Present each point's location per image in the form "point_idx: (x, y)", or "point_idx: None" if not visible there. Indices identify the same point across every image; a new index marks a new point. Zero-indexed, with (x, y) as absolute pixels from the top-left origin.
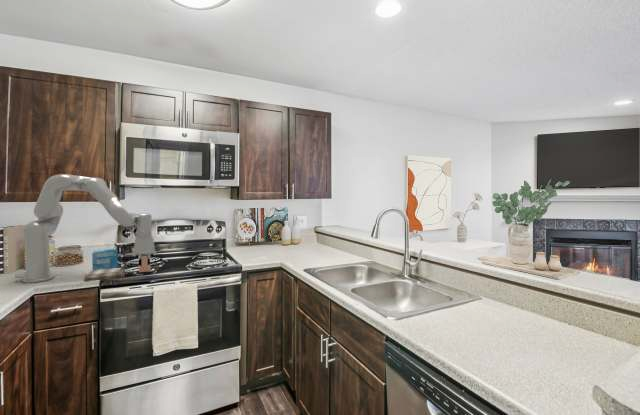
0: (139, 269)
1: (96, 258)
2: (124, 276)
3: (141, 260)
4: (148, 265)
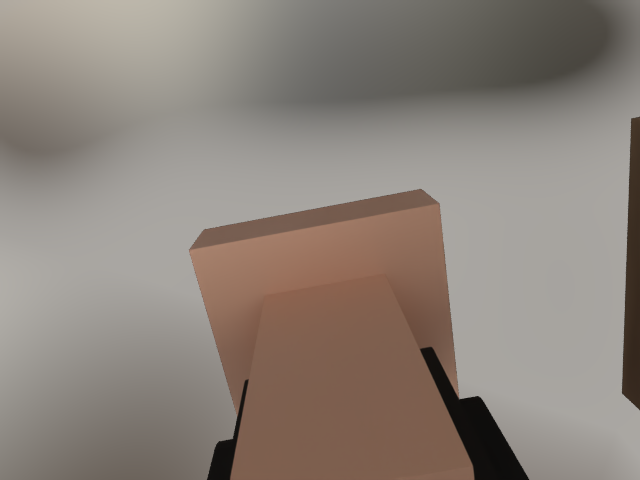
0: (422, 204)
1: None
2: (634, 146)
3: None
4: None
